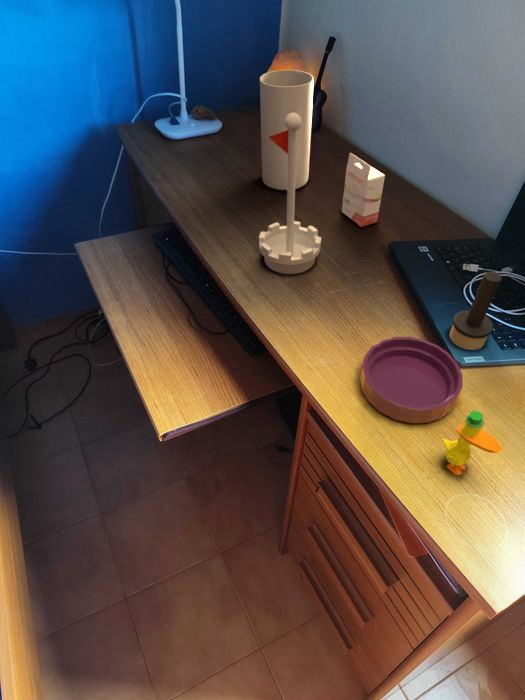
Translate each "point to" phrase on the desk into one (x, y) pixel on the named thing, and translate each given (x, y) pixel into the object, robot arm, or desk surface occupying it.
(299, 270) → the flag stand
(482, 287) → the dish brush
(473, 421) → the toy figure
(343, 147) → the desk surface
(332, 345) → the desk surface
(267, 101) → the cylinder vase
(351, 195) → the ink cartridge box
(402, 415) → the plum bowl
